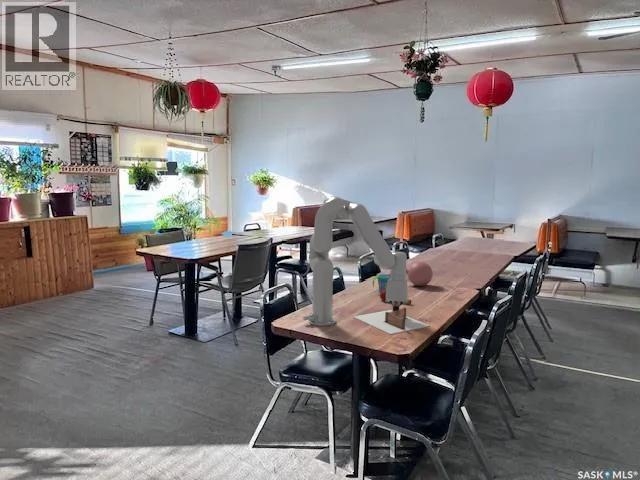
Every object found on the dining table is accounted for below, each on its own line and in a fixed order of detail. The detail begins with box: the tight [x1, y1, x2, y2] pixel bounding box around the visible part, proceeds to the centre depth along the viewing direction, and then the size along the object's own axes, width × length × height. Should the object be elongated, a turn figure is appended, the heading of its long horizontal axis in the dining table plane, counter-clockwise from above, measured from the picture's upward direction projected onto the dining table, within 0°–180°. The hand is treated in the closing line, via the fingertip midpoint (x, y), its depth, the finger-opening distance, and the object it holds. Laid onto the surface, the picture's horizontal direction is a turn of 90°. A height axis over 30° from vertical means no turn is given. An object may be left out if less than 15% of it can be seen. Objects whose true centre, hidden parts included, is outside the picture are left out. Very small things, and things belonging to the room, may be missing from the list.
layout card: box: [353, 309, 430, 335], centre depth 226 cm, size 23×29×1 cm
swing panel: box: [389, 307, 407, 318], centre depth 228 cm, size 11×2×4 cm, turn 126°
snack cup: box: [372, 273, 390, 294], centre depth 280 cm, size 16×10×10 cm
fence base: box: [385, 312, 405, 329], centre depth 219 cm, size 2×13×5 cm, turn 30°
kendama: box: [379, 290, 412, 306], centre depth 260 cm, size 8×6×18 cm
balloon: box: [406, 261, 433, 287], centre depth 298 cm, size 15×20×15 cm
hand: (395, 314), depth 231 cm, fingers closed
